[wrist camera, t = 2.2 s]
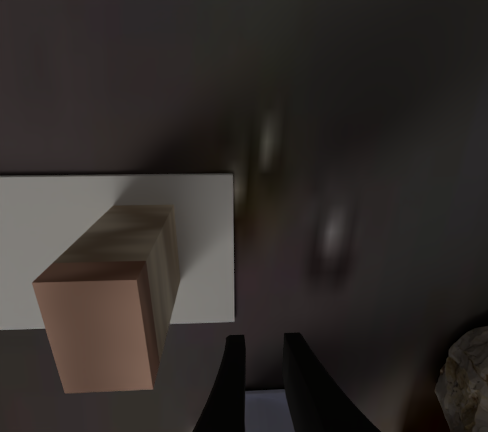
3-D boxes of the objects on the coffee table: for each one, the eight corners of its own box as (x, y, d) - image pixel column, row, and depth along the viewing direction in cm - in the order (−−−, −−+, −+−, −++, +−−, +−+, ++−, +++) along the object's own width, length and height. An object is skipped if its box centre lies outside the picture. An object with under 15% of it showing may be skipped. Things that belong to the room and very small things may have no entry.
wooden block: (173, 204, 20) (136, 279, 12) (180, 280, 22) (152, 389, 14) (112, 205, 20) (31, 282, 12) (125, 282, 22) (64, 393, 14)
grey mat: (232, 173, 20) (233, 174, 20) (234, 318, 24) (234, 321, 24) (-84, 176, 19) (-90, 178, 19) (-23, 327, 23) (-27, 330, 23)
